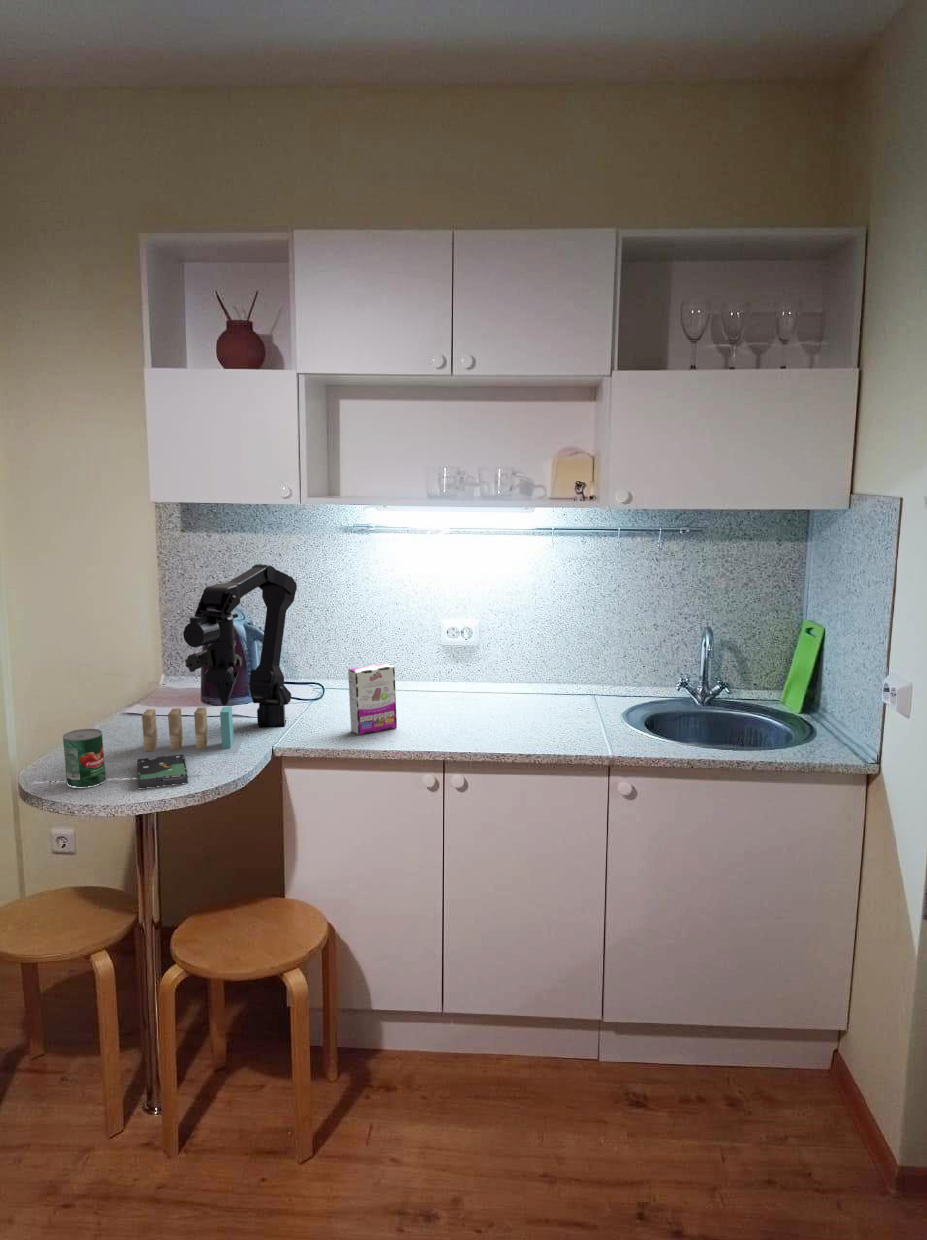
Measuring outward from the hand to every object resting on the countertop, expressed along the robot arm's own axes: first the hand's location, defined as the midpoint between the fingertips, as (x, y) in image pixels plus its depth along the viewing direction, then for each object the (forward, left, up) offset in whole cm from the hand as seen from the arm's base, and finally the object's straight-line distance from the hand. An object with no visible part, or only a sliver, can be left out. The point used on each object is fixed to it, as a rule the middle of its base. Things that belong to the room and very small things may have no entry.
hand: (225, 703), depth 223 cm
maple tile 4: (+18, 0, -10) cm, 21 cm away
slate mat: (+9, 0, -11) cm, 14 cm away
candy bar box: (-35, -10, -11) cm, 38 cm away
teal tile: (0, 0, -10) cm, 11 cm away
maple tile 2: (+6, 0, -10) cm, 12 cm away
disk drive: (+11, +18, -12) cm, 25 cm away
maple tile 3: (+12, 0, -10) cm, 16 cm away
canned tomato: (+27, +21, -11) cm, 36 cm away
